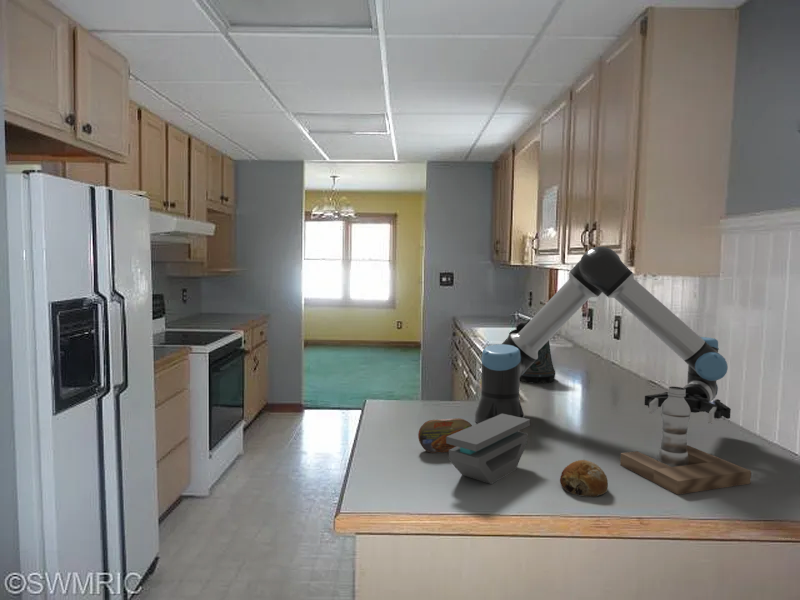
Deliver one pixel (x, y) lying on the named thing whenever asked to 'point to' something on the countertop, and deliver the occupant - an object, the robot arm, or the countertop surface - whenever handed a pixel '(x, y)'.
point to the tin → (440, 433)
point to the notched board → (688, 472)
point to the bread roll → (584, 479)
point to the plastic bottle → (674, 428)
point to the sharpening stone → (489, 447)
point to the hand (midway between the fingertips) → (679, 413)
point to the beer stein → (538, 363)
